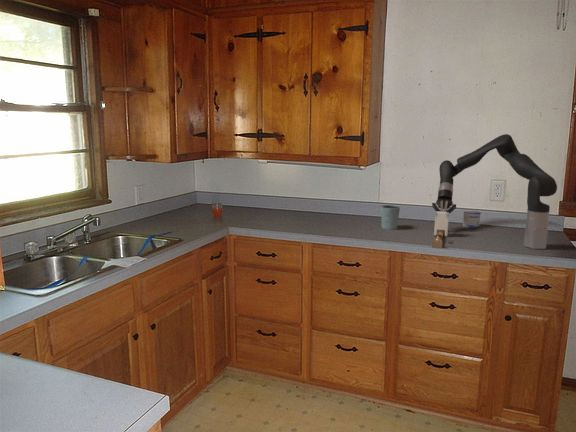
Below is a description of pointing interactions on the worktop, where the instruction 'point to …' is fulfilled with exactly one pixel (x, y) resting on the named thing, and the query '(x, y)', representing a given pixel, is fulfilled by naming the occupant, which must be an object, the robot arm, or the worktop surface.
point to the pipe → (439, 239)
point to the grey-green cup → (390, 216)
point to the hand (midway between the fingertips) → (442, 219)
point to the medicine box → (471, 219)
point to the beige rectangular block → (441, 222)
